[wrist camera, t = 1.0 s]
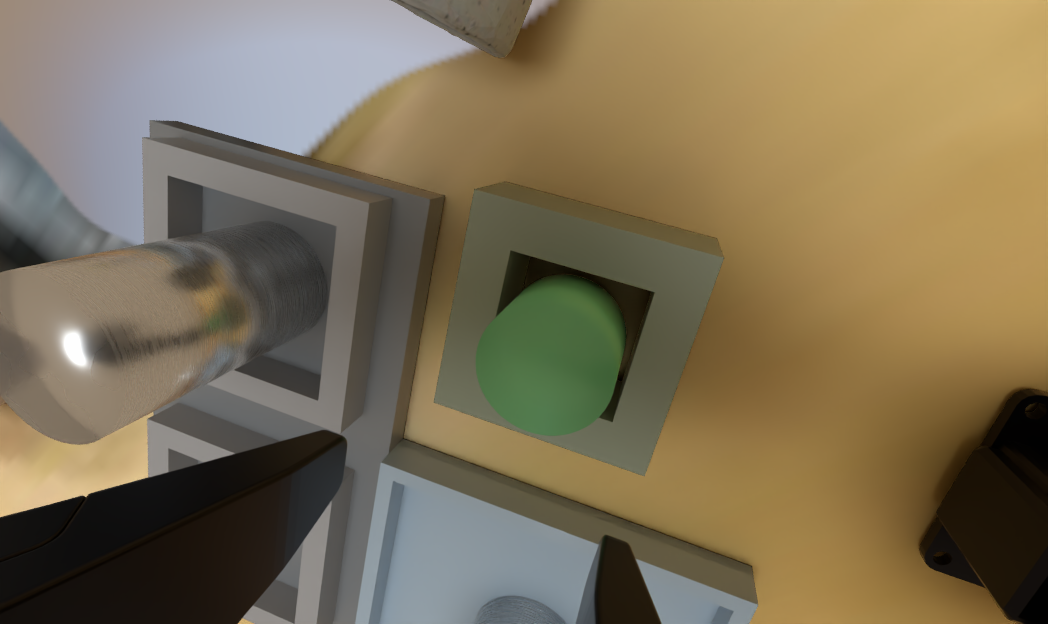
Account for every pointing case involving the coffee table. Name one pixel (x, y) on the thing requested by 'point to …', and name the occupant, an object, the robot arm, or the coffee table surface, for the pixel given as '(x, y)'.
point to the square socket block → (597, 248)
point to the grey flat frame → (302, 337)
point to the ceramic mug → (475, 20)
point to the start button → (553, 355)
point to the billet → (516, 612)
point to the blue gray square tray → (517, 550)
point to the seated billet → (149, 324)
